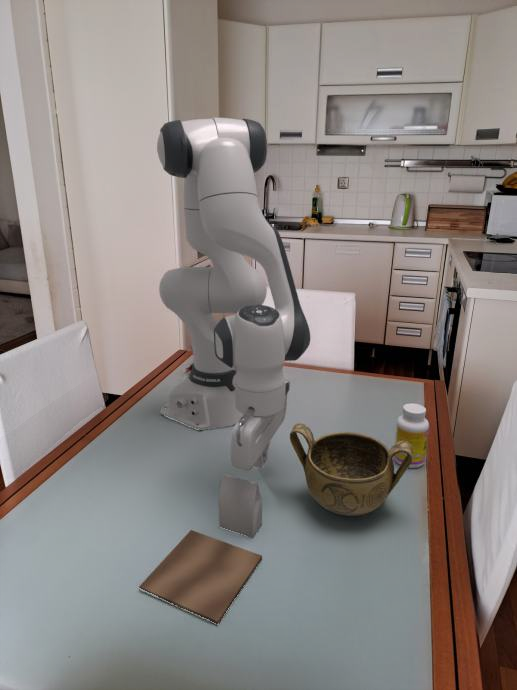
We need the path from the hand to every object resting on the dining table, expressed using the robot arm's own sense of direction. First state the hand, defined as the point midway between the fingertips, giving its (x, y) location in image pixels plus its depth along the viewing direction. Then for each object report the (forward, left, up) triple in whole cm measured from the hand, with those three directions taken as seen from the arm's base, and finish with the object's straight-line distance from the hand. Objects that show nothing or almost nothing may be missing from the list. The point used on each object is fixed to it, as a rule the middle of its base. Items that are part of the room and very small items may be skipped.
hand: (260, 463), depth 93 cm
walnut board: (0, -20, -9) cm, 22 cm away
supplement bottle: (+23, +27, -9) cm, 36 cm away
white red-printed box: (0, -8, -9) cm, 12 cm away
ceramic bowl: (+15, +7, -9) cm, 19 cm away
